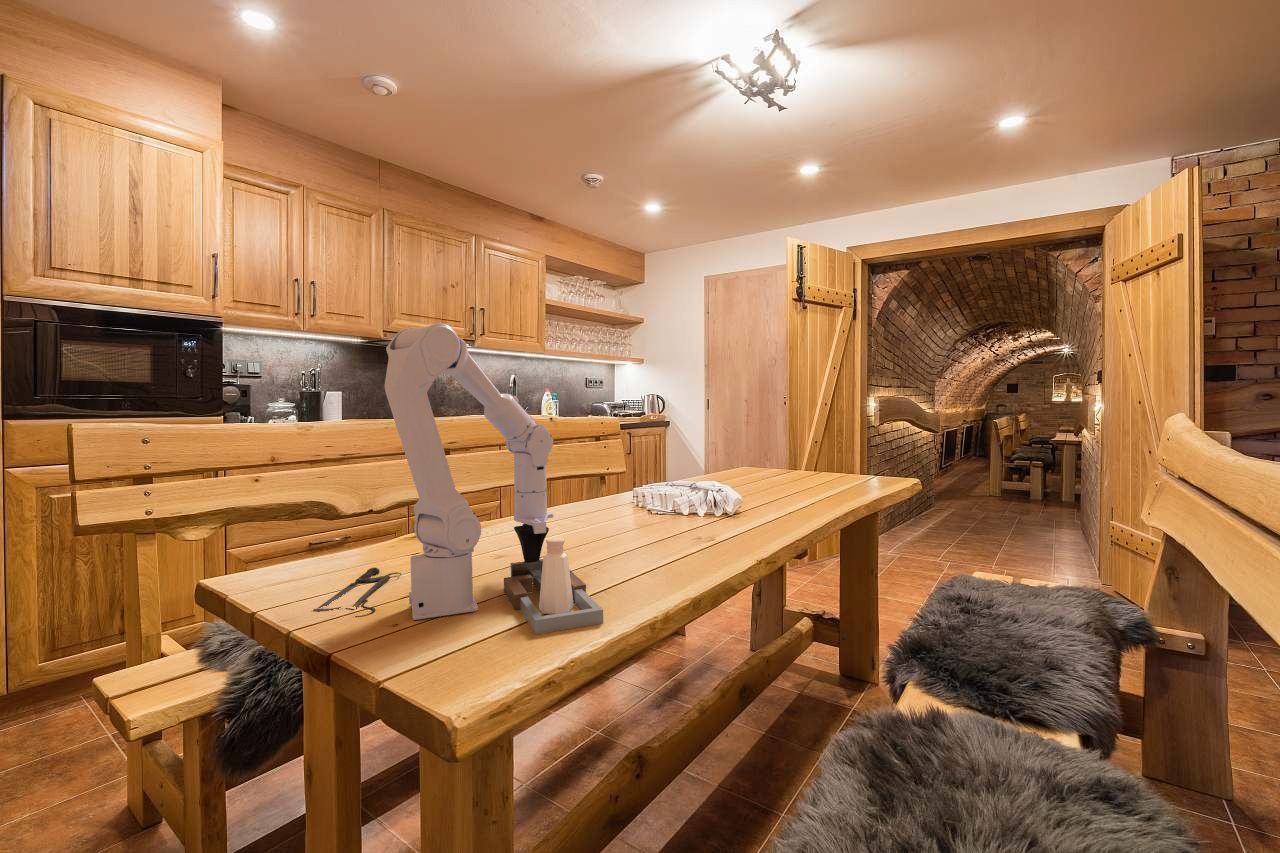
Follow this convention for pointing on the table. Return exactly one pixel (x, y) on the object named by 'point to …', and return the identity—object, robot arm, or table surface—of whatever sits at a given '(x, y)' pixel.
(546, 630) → the grey u-shaped frame
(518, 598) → the holder
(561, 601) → the pepper shaker
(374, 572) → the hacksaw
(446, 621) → the table surface
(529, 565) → the release key
